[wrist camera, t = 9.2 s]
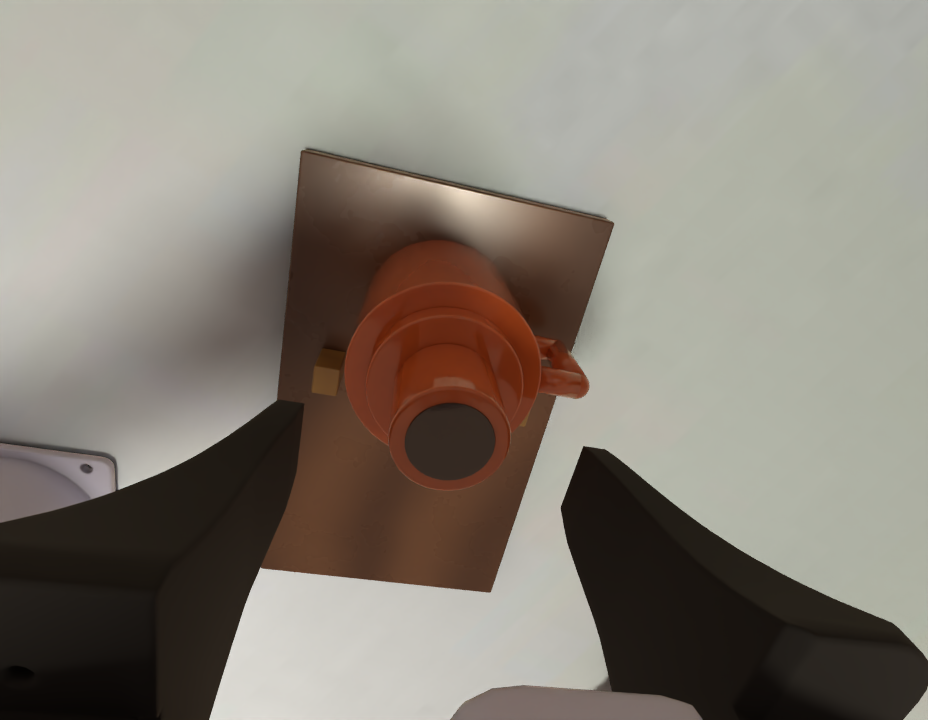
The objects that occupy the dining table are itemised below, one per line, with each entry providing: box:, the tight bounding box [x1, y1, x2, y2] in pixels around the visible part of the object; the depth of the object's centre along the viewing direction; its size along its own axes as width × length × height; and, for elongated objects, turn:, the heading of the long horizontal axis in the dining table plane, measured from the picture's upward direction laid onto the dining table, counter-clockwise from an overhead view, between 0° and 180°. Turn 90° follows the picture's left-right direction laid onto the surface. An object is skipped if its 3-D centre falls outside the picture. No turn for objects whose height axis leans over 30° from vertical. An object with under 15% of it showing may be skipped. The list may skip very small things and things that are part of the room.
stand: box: [261, 149, 614, 593], centre depth 23 cm, size 12×20×3 cm, turn 167°
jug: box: [344, 240, 589, 491], centre depth 17 cm, size 6×8×10 cm
